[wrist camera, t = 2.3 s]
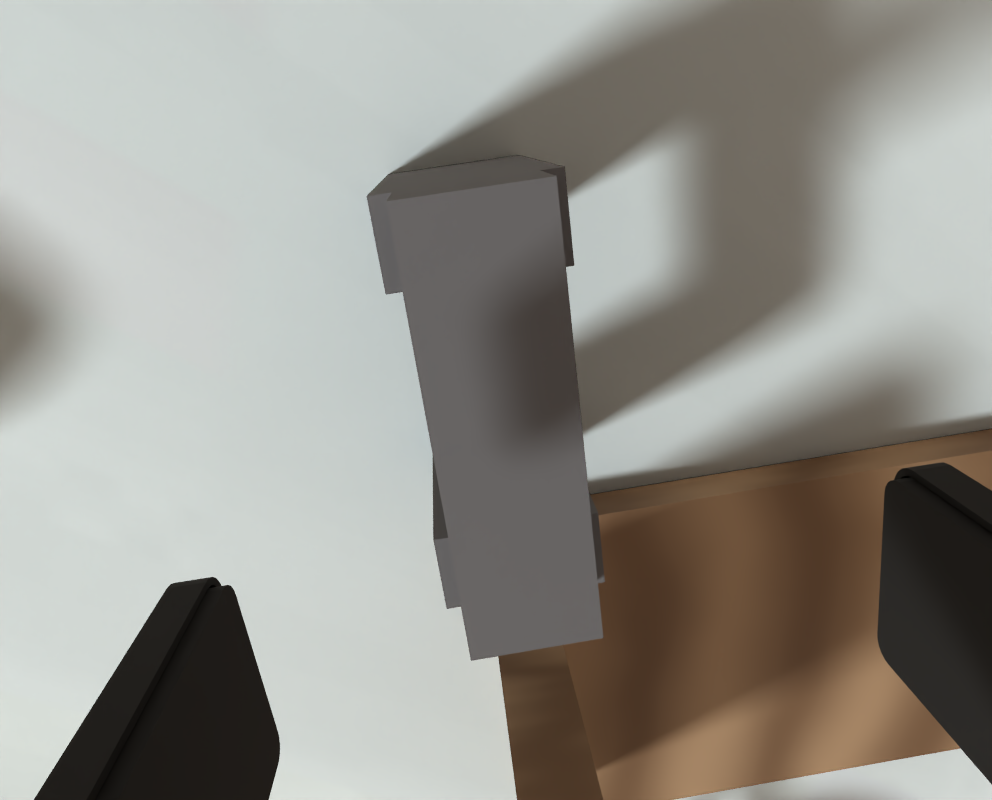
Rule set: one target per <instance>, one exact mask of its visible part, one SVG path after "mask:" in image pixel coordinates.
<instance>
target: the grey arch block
mask: <svg viewBox="0 0 992 800" xmlns="http://www.w3.org/2000/svg"><path fill="white" fill-rule="evenodd" d="M367 200H368V205H369V211H370V216H371V221H372V226H373V231H374V236H375V241H376V247H377V252H378V257H379V262H380V267H381V272H382V277H383V283H384V288H385V293H386V294H392V293H398V292H403V296H404V302H405V307H406V312H407V318H408V323H409V328H410V334H411V339H412V345H413V350H414V355H415V361H416V366H417V372H418V377H419V382H420V388H421V393H422V399H423V404H424V409H425V415H426V420H427V426H428V431H429V436H430V442H431V447H432V452H433V537H434V545H435V550H436V555H437V560H438V566H439V571H440V576H441V581H442V586H443V591H444V596H445V602H446V607H447V609H449V608H455V607H461V609H462V614H463V620H464V625H465V630H466V636H467V641H468V647H469V652H470V657H471V661H472V660H478V659H484V658H490V657H496V656H501V655H507V654H513V653H519V652H525V651H531V650H537V649H542V648H548V647H554V646H560V645H566V644H572V643H577V642H583V641H589V640H595V639H601V638H603V629H602V620H601V610H600V600H599V590H598V583H603V582H605V578H604V567H603V557H602V547H601V537H600V526H599V516H598V511H597V509H596V507H595V505H594V502H593V500H592V498H591V495H590V493H589V491H588V481H587V471H586V462H585V452H584V442H583V432H582V422H581V412H580V402H579V392H578V383H577V373H576V363H575V353H574V343H573V333H572V323H571V313H570V304H569V294H568V284H567V274H566V267H568V266H574V258H573V248H572V237H571V227H570V217H569V207H568V196H567V186H566V176H565V167H564V166H560V165H556V164H552V163H548V162H544V161H540V160H536V159H532V158H528V157H524V156H520V155H516V156H509V157H502V158H496V159H489V160H482V161H475V162H468V163H462V164H455V165H448V166H441V167H435V168H428V169H421V170H414V171H408V172H401V173H394V174H388V175H387V176H386V177H385V178H384V179H383V180H382V181H381V182H380V183H379V184H378V185H377V186H376V187H375V188H374V189H373V190H372V191H371V192H370V193H369V194H368V195H367Z"/></svg>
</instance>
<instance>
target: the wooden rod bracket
mask: <svg viewBox="0 0 992 800" xmlns="http://www.w3.org/2000/svg"><path fill="white" fill-rule="evenodd" d="M942 462H944V463H947V464H949V465H951V466H953V467H954V468H956V469H958V470H959V471H961V472H963V473H964V474H966V475H967V476H969V477H971V478H972V479H974V480H975V481H977V482H979V483H980V484H982V485H983V486H985V487H987V488H988V489H990V490H991V491H992V429H988V430H982V431H976V432H970V433H963V434H957V435H951V436H945V437H939V438H933V439H927V440H921V441H915V442H909V443H903V444H896V445H890V446H884V447H878V448H872V449H866V450H860V451H854V452H848V453H842V454H835V455H829V456H823V457H817V458H811V459H805V460H799V461H793V462H787V463H781V464H774V465H768V466H762V467H756V468H750V469H744V470H738V471H732V472H726V473H720V474H713V475H707V476H701V477H695V478H689V479H683V480H677V481H671V482H665V483H659V484H652V485H646V486H640V487H634V488H628V489H622V490H616V491H610V492H604V493H598V494H592V495H591V498H592V500H593V502H594V505H595V507H596V509H597V511H598V516H599V526H600V537H601V547H602V557H603V567H604V578H605V582H603V583H598V590H599V600H600V610H601V620H602V629H603V638H601V639H595V640H589V641H583V642H577V643H572V644H566V645H560V646H554V647H548V648H542V649H537V650H531V651H525V652H519V653H513V654H507V655H501V656H498V657H499V665H500V672H501V680H502V688H503V695H504V703H505V710H506V718H507V726H508V733H509V741H510V748H511V756H512V764H513V771H514V779H515V787H516V794H517V800H674V799H679V798H685V797H691V796H696V795H702V794H707V793H713V792H718V791H724V790H730V789H735V788H741V787H746V786H752V785H758V784H763V783H769V782H774V781H780V780H786V779H791V778H797V777H802V776H808V775H814V774H819V773H825V772H830V771H836V770H841V769H847V768H853V767H858V766H864V765H869V764H875V763H881V762H886V761H892V760H897V759H903V758H909V757H914V756H920V755H925V754H931V753H937V752H942V751H948V750H953V749H959V748H960V747H959V746H958V745H957V743H956V742H955V741H954V740H953V739H952V738H951V736H950V735H949V734H948V733H947V732H946V731H945V730H944V728H943V727H942V726H941V725H940V724H939V723H938V721H937V720H936V719H935V718H934V717H933V716H932V714H931V713H930V712H929V711H928V710H927V709H926V708H925V706H924V705H923V704H922V703H921V702H920V701H919V699H918V698H917V697H916V696H915V695H914V694H913V692H912V691H911V690H910V689H909V688H908V687H907V686H906V684H905V683H904V682H903V681H902V680H901V679H900V677H899V676H898V675H897V674H896V673H895V672H894V670H893V669H892V668H891V667H890V666H889V665H888V663H887V662H886V661H885V659H884V657H883V655H882V653H881V651H880V648H879V644H878V638H877V630H878V610H879V590H880V571H881V551H882V531H883V511H884V492H885V487H886V485H887V483H888V482H889V481H891V480H894V478H895V476H896V474H897V472H898V471H899V470H900V469H902V468H908V467H914V466H921V465H927V464H933V463H942Z"/></svg>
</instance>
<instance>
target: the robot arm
mask: <svg viewBox="0 0 992 800" xmlns="http://www.w3.org/2000/svg"><path fill="white" fill-rule="evenodd" d="M877 638H878V644H879V648H880V651H881V653H882V655H883V657H884V659H885V661H886V662H887V663H888V665H889V666H890V667H891V668H892V669H893V670H894V672H895V673H896V674H897V675H898V676H899V677H900V679H901V680H902V681H903V682H904V683H905V684H906V686H907V687H908V688H909V689H910V690H911V691H912V692H913V694H914V695H915V696H916V697H917V698H918V699H919V701H920V702H921V703H922V704H923V705H924V706H925V708H926V709H927V710H928V711H929V712H930V713H931V714H932V716H933V717H934V718H935V719H936V720H937V721H938V723H939V724H940V725H941V726H942V727H943V728H944V730H945V731H946V732H947V733H948V734H949V735H950V736H951V738H952V739H953V740H954V741H955V742H956V743H957V745H958V746H959V747H960V748H961V749H962V750H963V751H964V753H965V754H966V755H967V756H968V757H969V758H970V760H971V761H972V762H973V763H974V764H975V765H976V767H977V768H978V769H979V770H980V771H981V772H982V773H983V775H984V776H985V777H986V778H987V779H988V780H989V782H990V783H991V784H992V491H991V490H990V489H988V488H987V487H985V486H983V485H982V484H980V483H979V482H977V481H975V480H974V479H972V478H971V477H969V476H967V475H966V474H964V473H963V472H961V471H959V470H958V469H956V468H954V467H953V466H951V465H949V464H947V463H944V462H942V463H933V464H927V465H921V466H914V467H908V468H902V469H900V470H899V471H898V472H897V474H896V476H895V478H894V480H891V481H889V482H888V483H887V485H886V487H885V492H884V511H883V531H882V551H881V571H880V590H879V610H878V630H877ZM279 755H280V742H279V735H278V731H277V728H276V724H275V721H274V718H273V715H272V711H271V708H270V705H269V702H268V698H267V695H266V692H265V689H264V685H263V682H262V679H261V676H260V672H259V669H258V666H257V662H256V659H255V656H254V653H253V649H252V646H251V643H250V640H249V636H248V633H247V630H246V627H245V623H244V620H243V617H242V614H241V610H240V607H239V604H238V601H237V597H236V594H235V592H234V590H233V588H232V587H231V586H229V585H225V586H221V584H220V583H219V581H218V580H217V579H216V578H214V577H210V578H203V579H197V580H191V581H184V582H178V583H173V584H171V585H170V586H169V587H168V588H167V589H166V591H165V592H164V594H163V596H162V597H161V599H160V600H159V602H158V603H157V605H156V607H155V608H154V610H153V611H152V613H151V615H150V616H149V618H148V619H147V621H146V623H145V624H144V626H143V627H142V629H141V630H140V632H139V634H138V635H137V637H136V638H135V640H134V642H133V643H132V645H131V646H130V648H129V650H128V651H127V653H126V654H125V656H124V657H123V659H122V661H121V662H120V664H119V665H118V667H117V669H116V670H115V672H114V673H113V675H112V677H111V678H110V680H109V681H108V683H107V684H106V686H105V688H104V689H103V691H102V692H101V694H100V696H99V697H98V699H97V700H96V702H95V704H94V705H93V707H92V708H91V710H90V712H89V713H88V715H87V716H86V718H85V719H84V721H83V723H82V724H81V726H80V727H79V729H78V731H77V732H76V734H75V735H74V737H73V739H72V740H71V742H70V743H69V745H68V746H67V748H66V750H65V751H64V753H63V754H62V756H61V758H60V759H59V761H58V762H57V764H56V766H55V767H54V769H53V770H52V772H51V773H50V775H49V777H48V778H47V780H46V781H45V783H44V785H43V786H42V788H41V789H40V791H39V793H38V794H37V796H36V797H35V799H34V800H269V796H270V792H271V788H272V785H273V781H274V777H275V774H276V770H277V766H278V762H279Z"/></svg>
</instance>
